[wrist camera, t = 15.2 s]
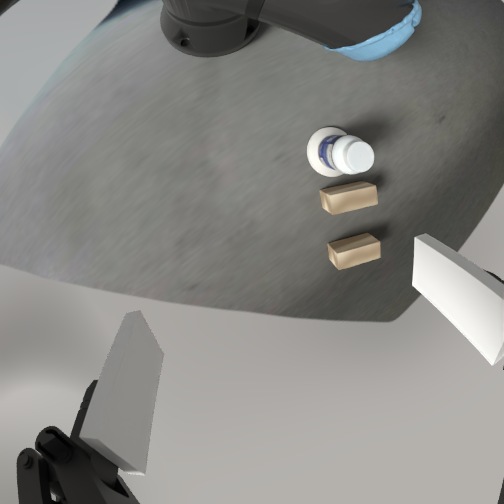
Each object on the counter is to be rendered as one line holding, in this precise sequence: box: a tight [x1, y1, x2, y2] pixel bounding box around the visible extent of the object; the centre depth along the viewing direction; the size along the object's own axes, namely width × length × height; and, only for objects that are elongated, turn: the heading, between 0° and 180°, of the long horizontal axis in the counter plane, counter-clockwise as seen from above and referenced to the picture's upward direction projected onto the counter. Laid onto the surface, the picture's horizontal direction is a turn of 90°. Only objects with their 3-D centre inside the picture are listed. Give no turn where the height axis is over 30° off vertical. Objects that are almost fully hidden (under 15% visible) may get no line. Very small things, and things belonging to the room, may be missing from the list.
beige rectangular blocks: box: [320, 181, 380, 270], centre depth 43 cm, size 12×8×4 cm, turn 13°
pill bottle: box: [317, 135, 374, 174], centre depth 35 cm, size 5×5×10 cm
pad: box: [307, 127, 347, 177], centre depth 40 cm, size 8×8×1 cm
